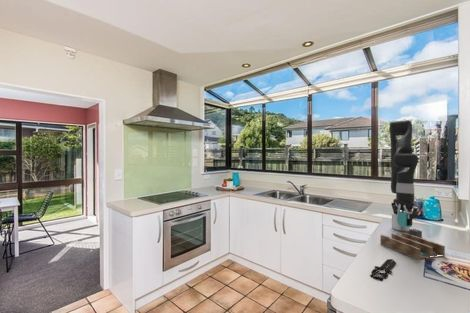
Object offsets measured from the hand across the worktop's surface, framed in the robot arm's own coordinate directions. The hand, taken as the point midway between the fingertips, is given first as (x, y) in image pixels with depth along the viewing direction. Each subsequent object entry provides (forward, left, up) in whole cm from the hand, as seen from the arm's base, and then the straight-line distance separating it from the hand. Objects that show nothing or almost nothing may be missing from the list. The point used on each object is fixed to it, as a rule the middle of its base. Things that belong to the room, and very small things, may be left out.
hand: (404, 224), depth 116 cm
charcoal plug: (-7, +17, -14) cm, 23 cm away
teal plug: (0, 0, -1) cm, 1 cm away
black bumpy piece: (+13, -28, -14) cm, 34 cm away
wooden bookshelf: (0, +4, -14) cm, 14 cm away
